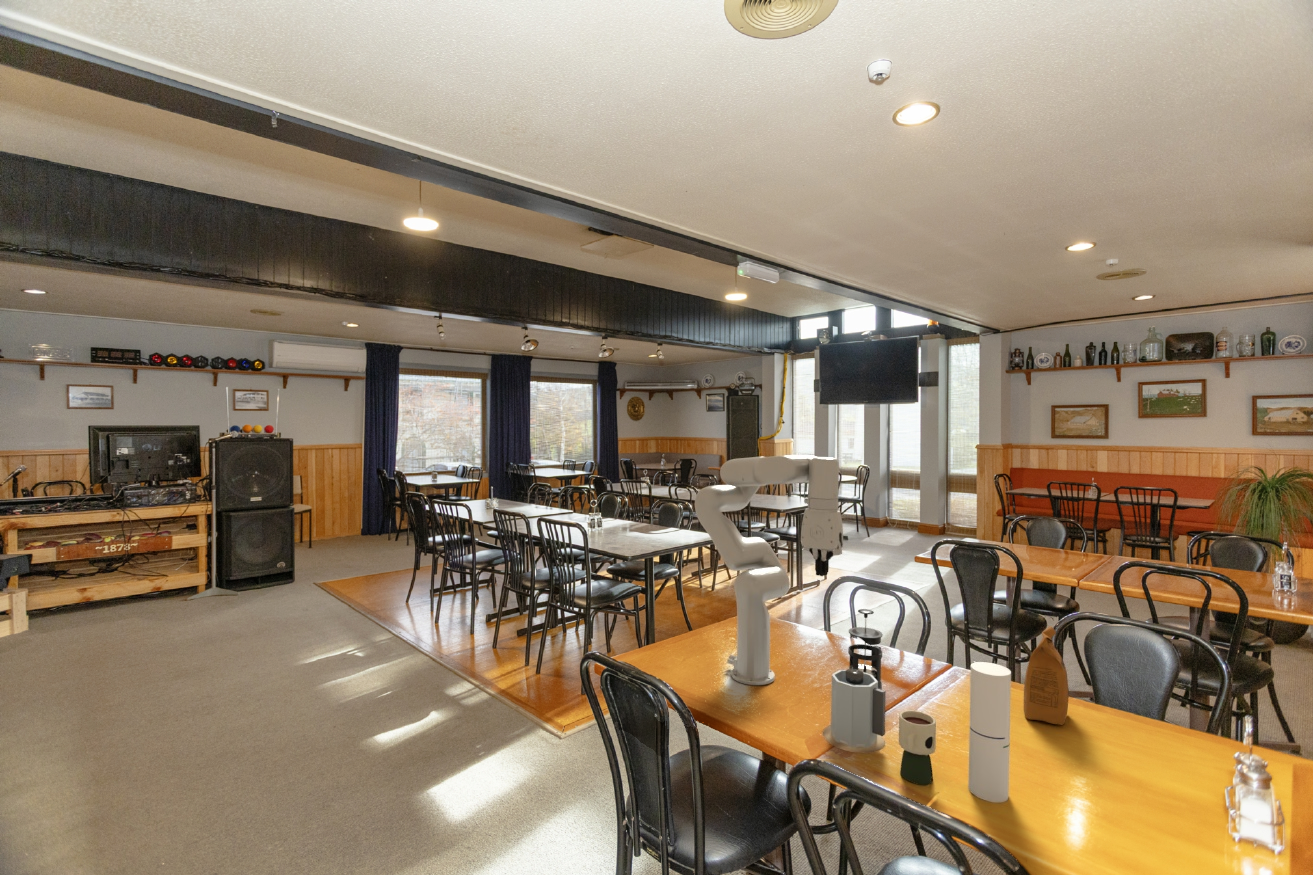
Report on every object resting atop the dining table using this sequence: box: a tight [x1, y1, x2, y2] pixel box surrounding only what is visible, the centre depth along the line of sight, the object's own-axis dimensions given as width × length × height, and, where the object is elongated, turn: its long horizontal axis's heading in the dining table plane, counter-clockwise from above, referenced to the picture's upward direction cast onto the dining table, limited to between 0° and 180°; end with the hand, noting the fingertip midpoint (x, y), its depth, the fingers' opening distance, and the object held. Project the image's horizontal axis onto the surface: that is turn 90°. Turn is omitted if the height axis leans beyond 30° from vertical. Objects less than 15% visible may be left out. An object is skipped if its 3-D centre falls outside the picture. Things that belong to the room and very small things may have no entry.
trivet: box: [822, 724, 886, 754], centre depth 145 cm, size 14×14×1 cm
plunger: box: [845, 668, 864, 685], centre depth 144 cm, size 7×7×12 cm
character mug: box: [898, 709, 937, 786], centre depth 128 cm, size 11×7×13 cm, turn 143°
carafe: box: [830, 669, 886, 748], centre depth 144 cm, size 12×10×14 cm
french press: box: [847, 608, 884, 690], centre depth 171 cm, size 12×9×23 cm
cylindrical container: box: [967, 661, 1012, 804], centre depth 124 cm, size 7×7×25 cm
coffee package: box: [1023, 626, 1070, 726], centre depth 158 cm, size 10×12×22 cm
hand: (821, 574), depth 160 cm, fingers closed
